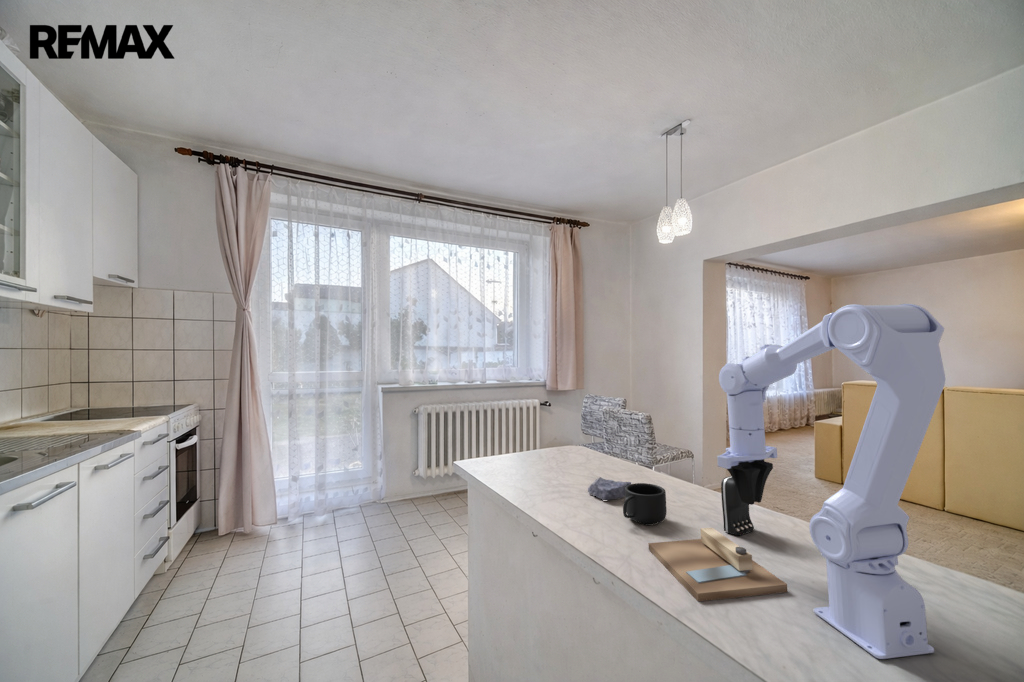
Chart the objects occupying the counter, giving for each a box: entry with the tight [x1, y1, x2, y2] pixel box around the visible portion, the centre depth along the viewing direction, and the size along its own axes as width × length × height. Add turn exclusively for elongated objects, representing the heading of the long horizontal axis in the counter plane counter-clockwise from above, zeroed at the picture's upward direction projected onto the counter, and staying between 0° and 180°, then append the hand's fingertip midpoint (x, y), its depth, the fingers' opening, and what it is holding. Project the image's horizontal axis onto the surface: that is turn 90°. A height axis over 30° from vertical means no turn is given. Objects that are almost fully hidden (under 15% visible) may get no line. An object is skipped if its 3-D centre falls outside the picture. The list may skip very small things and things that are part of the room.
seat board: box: [648, 538, 789, 602], centre depth 70 cm, size 17×15×2 cm
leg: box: [700, 527, 753, 571], centre depth 72 cm, size 11×2×3 cm, turn 6°
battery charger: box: [720, 475, 755, 536], centre depth 85 cm, size 7×4×11 cm, turn 117°
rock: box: [587, 476, 632, 501], centre depth 109 cm, size 12×5×10 cm
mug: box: [622, 482, 668, 526], centre depth 91 cm, size 12×9×7 cm
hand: (750, 501), depth 73 cm, fingers closed
